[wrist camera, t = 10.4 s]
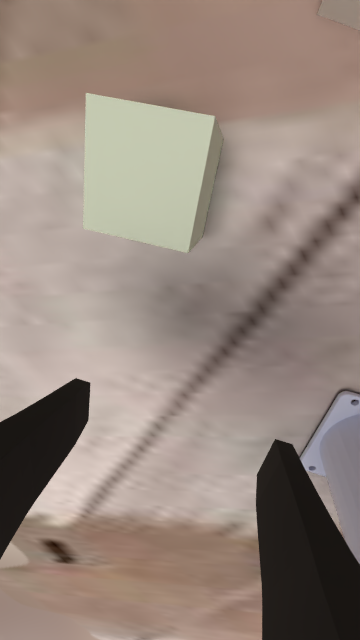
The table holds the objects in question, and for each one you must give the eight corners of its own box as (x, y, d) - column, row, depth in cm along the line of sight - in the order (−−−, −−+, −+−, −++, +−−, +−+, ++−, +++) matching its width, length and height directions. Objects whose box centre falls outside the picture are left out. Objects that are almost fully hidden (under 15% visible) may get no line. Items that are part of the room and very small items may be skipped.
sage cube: (223, 139, 14) (215, 116, 10) (202, 236, 17) (187, 253, 12) (133, 122, 15) (86, 93, 10) (124, 218, 17) (83, 228, 13)
